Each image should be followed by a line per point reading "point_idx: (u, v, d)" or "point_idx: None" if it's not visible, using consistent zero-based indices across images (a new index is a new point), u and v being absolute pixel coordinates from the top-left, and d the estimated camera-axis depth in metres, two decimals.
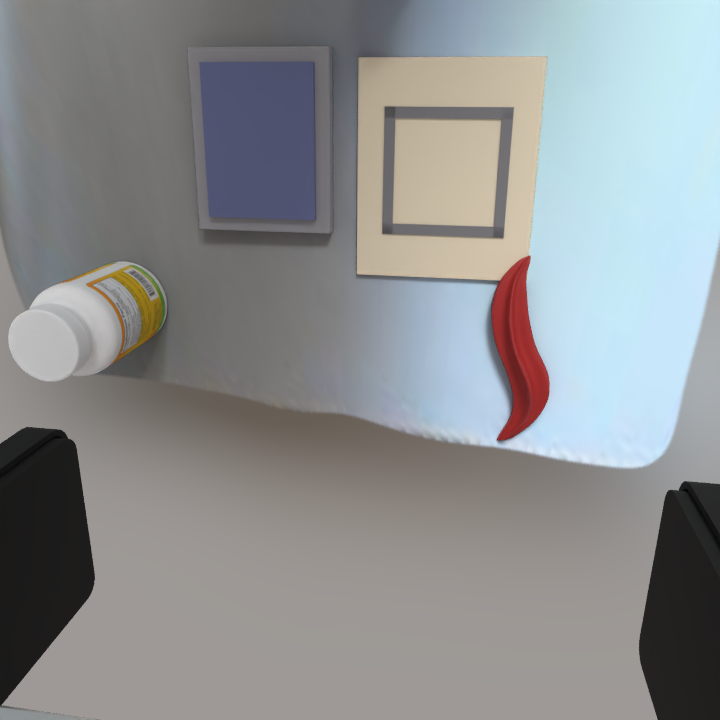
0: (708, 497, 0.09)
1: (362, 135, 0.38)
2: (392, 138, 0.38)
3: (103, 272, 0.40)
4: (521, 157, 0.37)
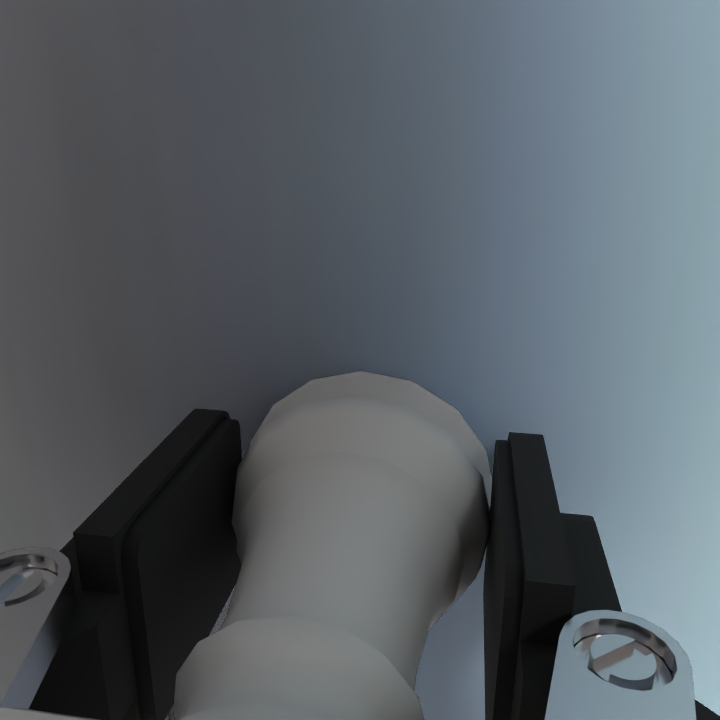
0: (521, 443, 0.10)
1: None
2: None
3: None
4: None
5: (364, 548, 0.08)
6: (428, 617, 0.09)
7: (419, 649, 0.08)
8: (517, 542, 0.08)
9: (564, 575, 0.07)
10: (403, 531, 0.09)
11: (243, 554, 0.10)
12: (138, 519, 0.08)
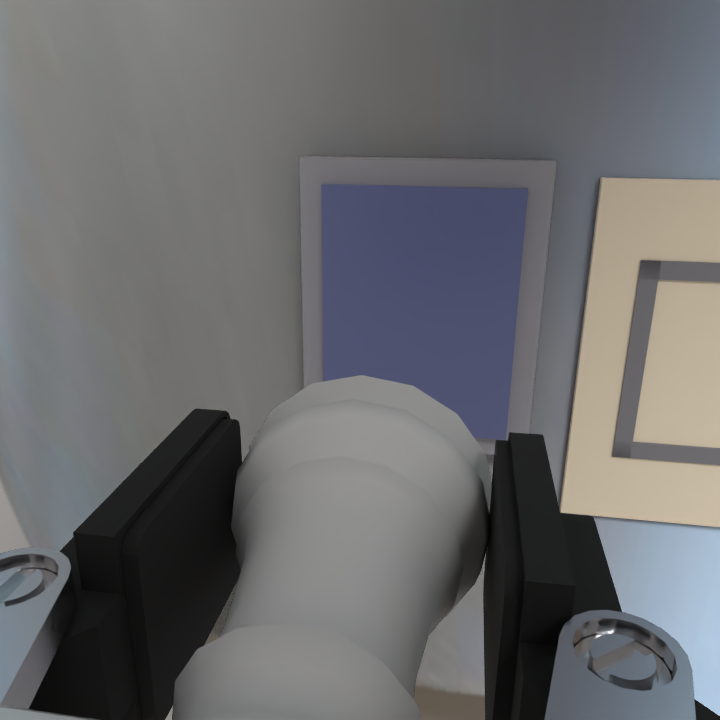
0: (521, 444, 0.10)
1: (594, 304, 0.22)
2: (647, 311, 0.22)
3: None
4: None
5: (363, 554, 0.08)
6: (428, 623, 0.09)
7: (419, 655, 0.08)
8: (517, 542, 0.08)
9: (563, 576, 0.07)
10: (403, 536, 0.09)
11: (242, 559, 0.10)
12: (138, 519, 0.08)
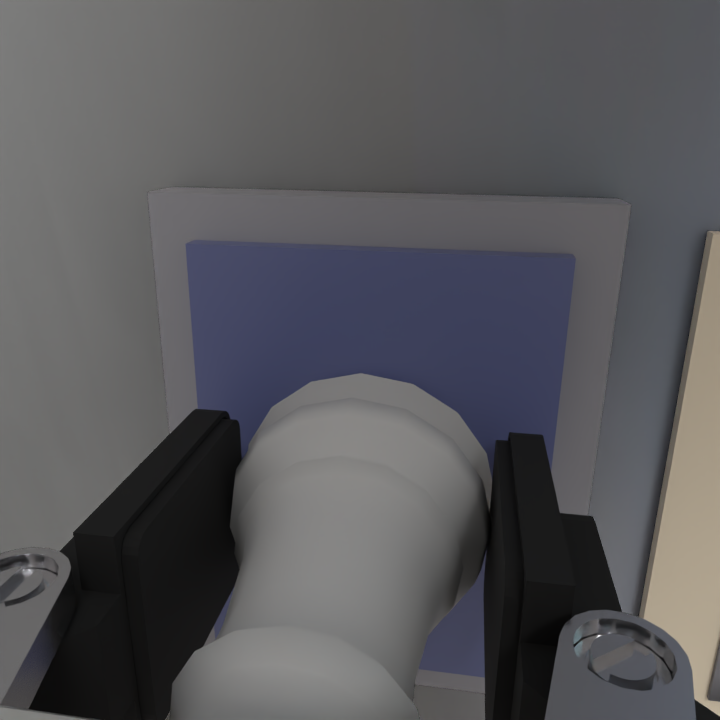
0: (521, 444, 0.10)
1: (687, 455, 0.12)
2: None
3: None
4: None
5: (363, 554, 0.08)
6: (427, 624, 0.09)
7: (418, 657, 0.08)
8: (517, 542, 0.08)
9: (563, 576, 0.07)
10: (402, 537, 0.09)
11: (241, 558, 0.10)
12: (138, 519, 0.08)
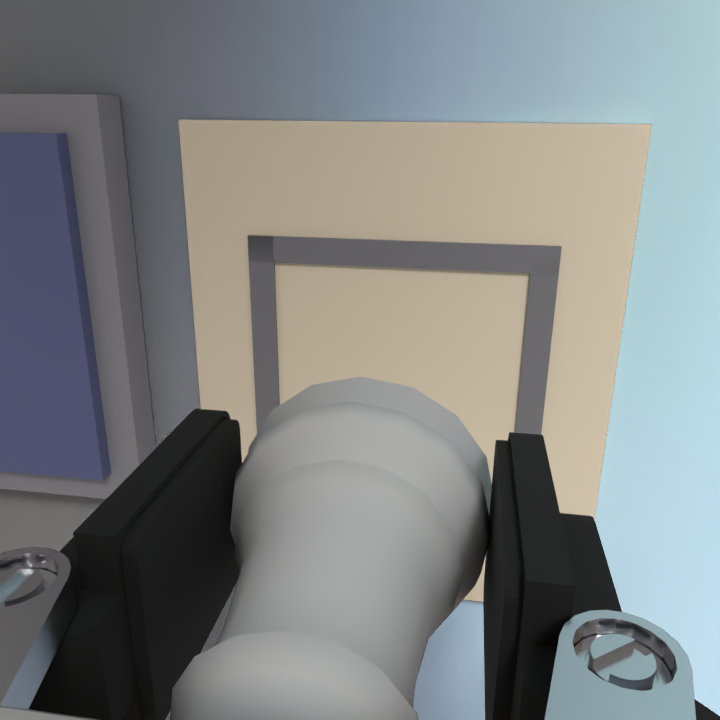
0: (521, 444, 0.10)
1: (202, 297, 0.16)
2: (269, 307, 0.16)
3: None
4: (576, 360, 0.15)
5: (362, 559, 0.08)
6: (427, 628, 0.09)
7: (418, 661, 0.08)
8: (517, 542, 0.08)
9: (564, 577, 0.07)
10: (402, 541, 0.09)
11: (241, 562, 0.10)
12: (138, 519, 0.08)
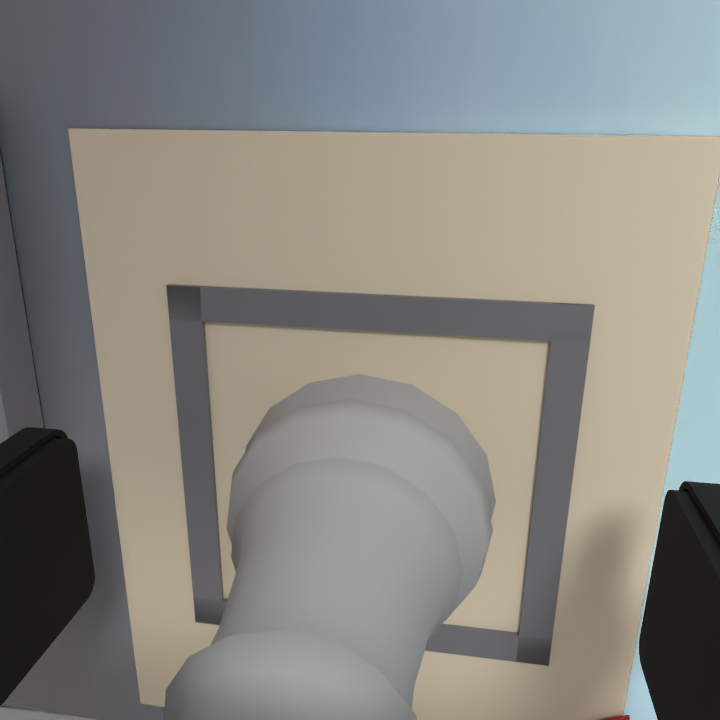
0: (708, 497, 0.09)
1: (111, 364, 0.12)
2: (200, 379, 0.12)
3: None
4: (612, 455, 0.11)
5: (361, 558, 0.08)
6: (427, 628, 0.08)
7: (417, 662, 0.08)
8: None
9: None
10: (402, 539, 0.09)
11: (238, 562, 0.10)
12: None
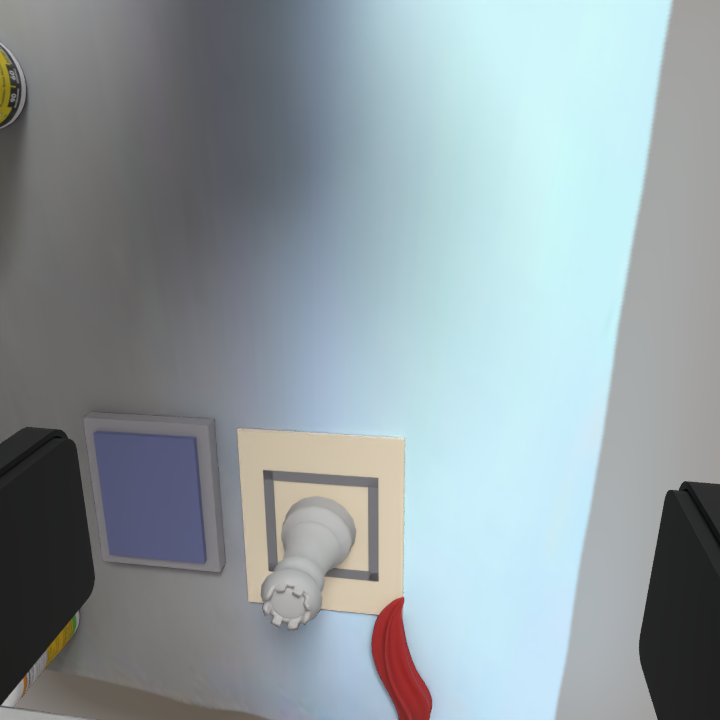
0: (708, 497, 0.09)
1: (245, 491, 0.42)
2: (271, 495, 0.41)
3: None
4: (388, 517, 0.40)
5: (313, 544, 0.37)
6: (329, 560, 0.38)
7: (325, 566, 0.37)
8: None
9: None
10: (324, 540, 0.38)
11: (285, 547, 0.39)
12: None
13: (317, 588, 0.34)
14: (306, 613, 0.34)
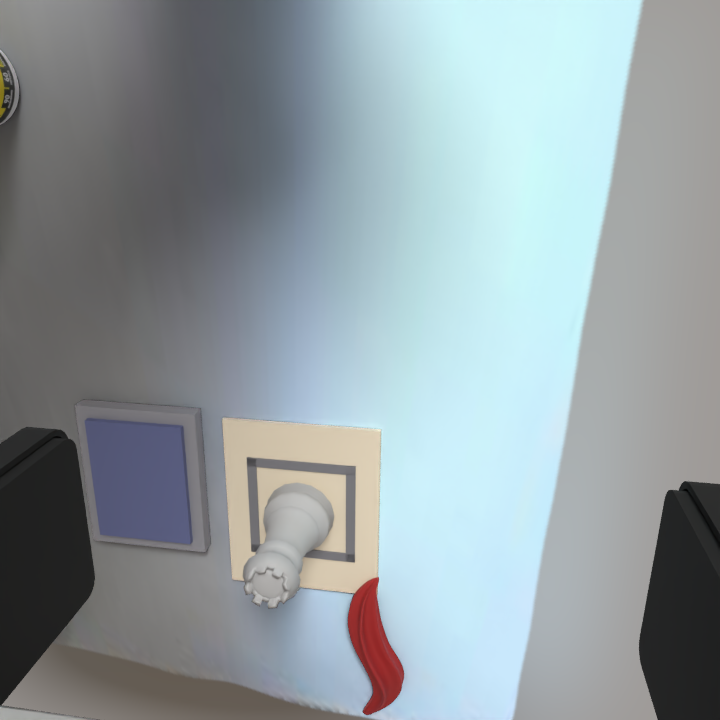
0: (708, 497, 0.09)
1: (229, 476, 0.44)
2: (254, 481, 0.44)
3: None
4: (365, 503, 0.43)
5: (293, 528, 0.40)
6: (308, 543, 0.40)
7: (304, 549, 0.39)
8: None
9: None
10: (303, 524, 0.40)
11: (266, 530, 0.42)
12: None
13: (295, 570, 0.37)
14: (285, 593, 0.36)
